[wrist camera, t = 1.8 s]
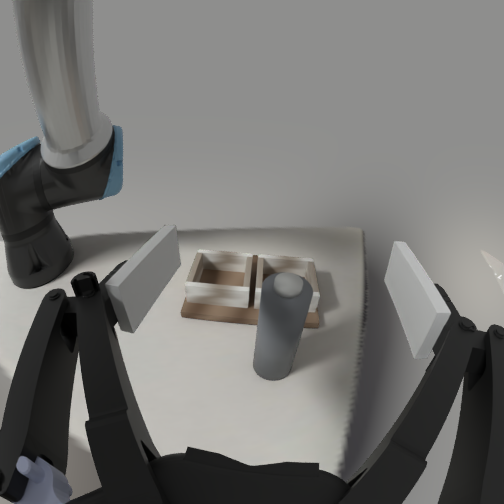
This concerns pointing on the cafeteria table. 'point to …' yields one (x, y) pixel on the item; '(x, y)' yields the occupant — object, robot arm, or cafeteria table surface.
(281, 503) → the robot arm
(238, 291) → the socket board
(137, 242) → the cafeteria table surface
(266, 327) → the plug
